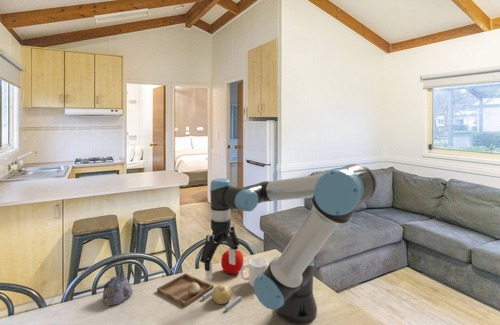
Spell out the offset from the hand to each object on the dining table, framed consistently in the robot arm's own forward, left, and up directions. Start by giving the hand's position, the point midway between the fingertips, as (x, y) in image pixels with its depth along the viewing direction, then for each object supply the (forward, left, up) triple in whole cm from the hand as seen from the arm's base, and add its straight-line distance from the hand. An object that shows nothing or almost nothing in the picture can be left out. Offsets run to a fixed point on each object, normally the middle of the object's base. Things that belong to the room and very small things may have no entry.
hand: (221, 270), depth 118 cm
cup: (-3, -18, -13) cm, 22 cm away
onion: (0, 0, -13) cm, 13 cm away
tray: (+17, +4, -13) cm, 21 cm away
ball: (+12, +4, -12) cm, 18 cm away
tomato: (+11, -20, -13) cm, 27 cm away
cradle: (0, 0, -13) cm, 13 cm away
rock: (+35, +24, -13) cm, 44 cm away
